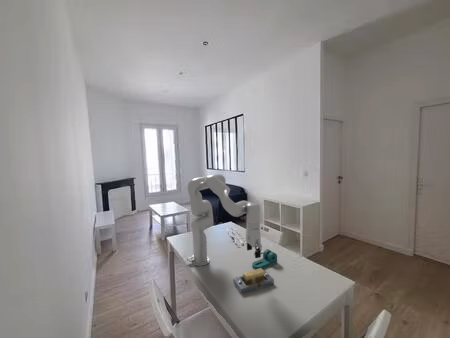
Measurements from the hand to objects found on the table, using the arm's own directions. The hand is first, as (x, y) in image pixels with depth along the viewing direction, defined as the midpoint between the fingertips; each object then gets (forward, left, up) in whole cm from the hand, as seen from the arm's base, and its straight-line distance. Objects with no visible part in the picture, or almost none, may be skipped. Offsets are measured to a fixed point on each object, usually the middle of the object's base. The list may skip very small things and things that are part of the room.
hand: (253, 253), depth 118 cm
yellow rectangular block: (0, 0, -18) cm, 18 cm away
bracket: (+16, +15, -19) cm, 29 cm away
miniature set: (+17, +62, -19) cm, 67 cm away
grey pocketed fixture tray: (0, 0, -18) cm, 18 cm away
